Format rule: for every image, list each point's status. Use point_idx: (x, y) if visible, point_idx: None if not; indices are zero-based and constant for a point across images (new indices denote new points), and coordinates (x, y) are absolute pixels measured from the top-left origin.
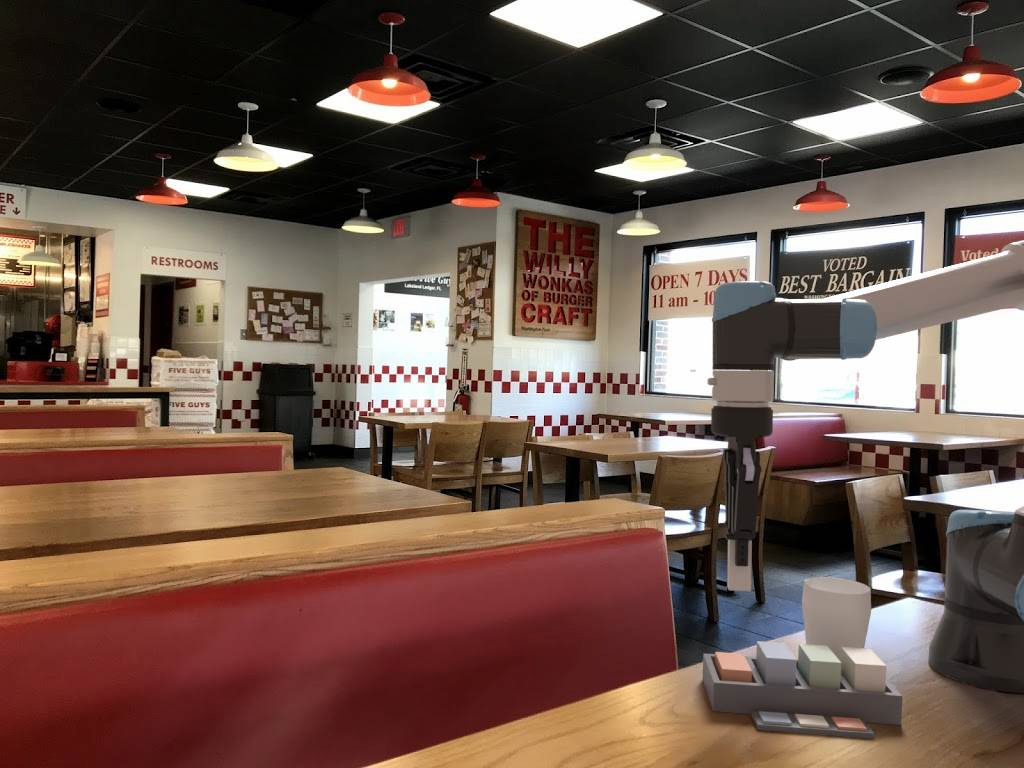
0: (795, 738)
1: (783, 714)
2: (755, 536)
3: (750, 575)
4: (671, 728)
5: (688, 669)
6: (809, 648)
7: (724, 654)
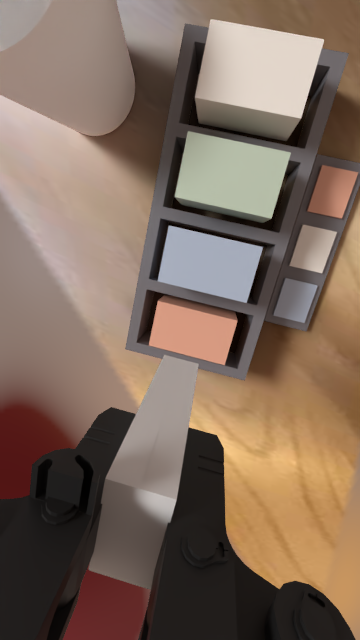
0: (337, 289)
1: (289, 284)
2: (330, 607)
3: (193, 389)
4: (282, 429)
5: (101, 341)
6: (202, 185)
7: (160, 334)
